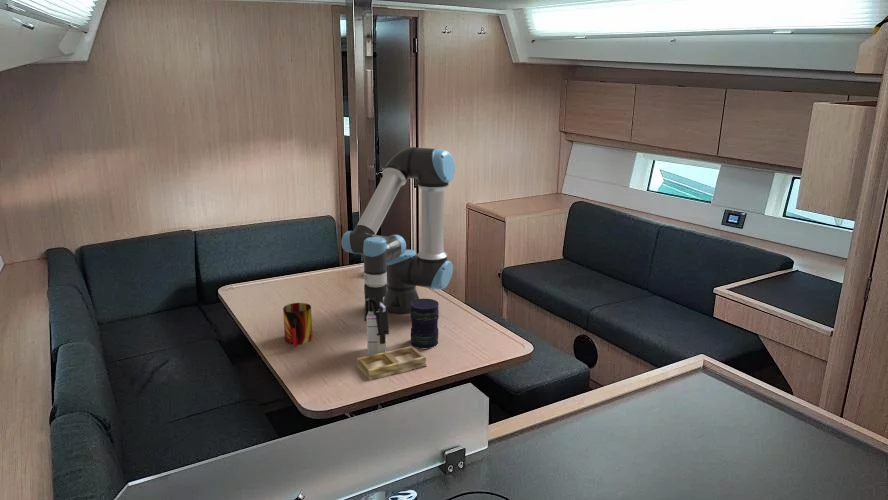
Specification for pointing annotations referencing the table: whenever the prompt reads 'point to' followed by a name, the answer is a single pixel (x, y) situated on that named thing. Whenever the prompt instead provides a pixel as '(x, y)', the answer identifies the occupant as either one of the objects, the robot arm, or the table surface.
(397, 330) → the table surface
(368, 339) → the syrup box
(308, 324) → the mug
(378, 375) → the socket board
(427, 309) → the storage jar
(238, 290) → the table surface
